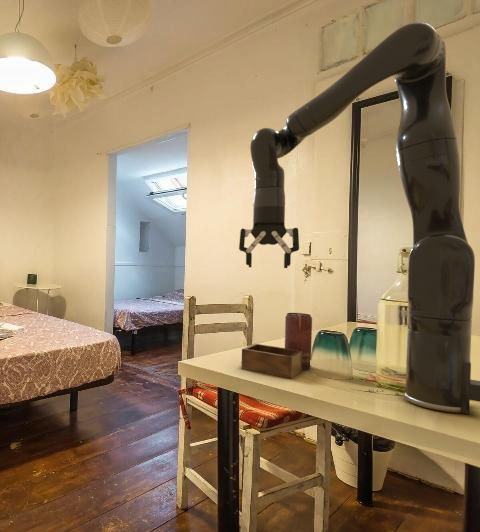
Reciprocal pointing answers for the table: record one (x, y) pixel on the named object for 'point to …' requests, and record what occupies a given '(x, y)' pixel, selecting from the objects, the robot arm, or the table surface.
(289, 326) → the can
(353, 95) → the robot arm
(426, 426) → the table surface
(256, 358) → the holder
